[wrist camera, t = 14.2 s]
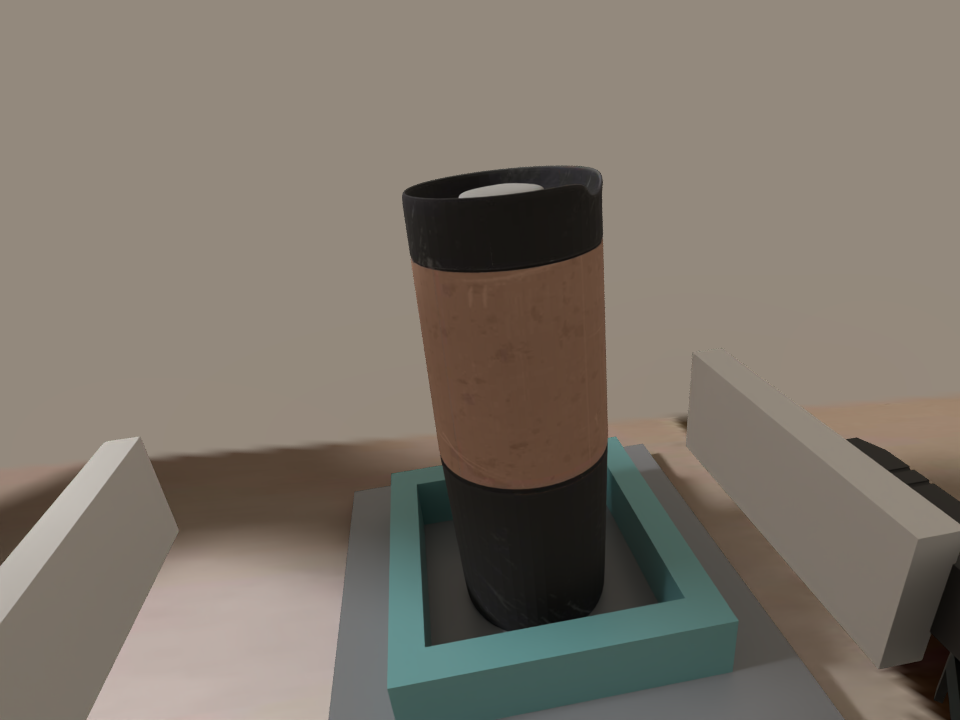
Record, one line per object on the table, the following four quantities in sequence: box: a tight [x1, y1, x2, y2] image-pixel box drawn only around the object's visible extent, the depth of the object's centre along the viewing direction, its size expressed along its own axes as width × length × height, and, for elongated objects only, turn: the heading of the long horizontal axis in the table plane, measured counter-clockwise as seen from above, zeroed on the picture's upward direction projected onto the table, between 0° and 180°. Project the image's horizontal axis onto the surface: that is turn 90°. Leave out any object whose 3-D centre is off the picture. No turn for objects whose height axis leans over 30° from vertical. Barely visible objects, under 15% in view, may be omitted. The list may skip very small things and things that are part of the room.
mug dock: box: [329, 437, 845, 720], centre depth 29 cm, size 20×20×4 cm
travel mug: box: [402, 166, 608, 632], centre depth 25 cm, size 8×8×20 cm
